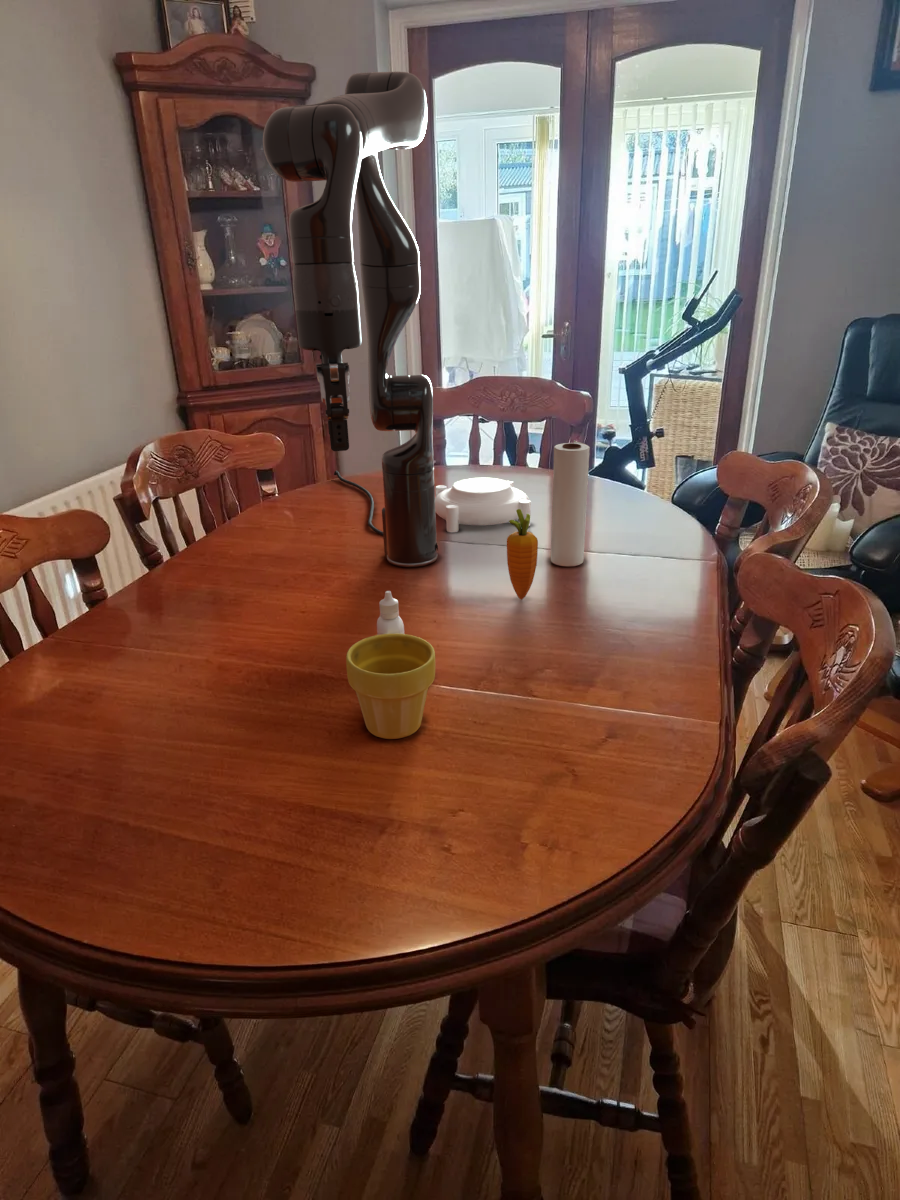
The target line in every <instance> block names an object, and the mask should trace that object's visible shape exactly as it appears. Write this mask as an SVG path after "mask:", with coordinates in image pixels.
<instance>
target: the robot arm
mask: <svg viewBox="0 0 900 1200" xmlns="http://www.w3.org/2000/svg"><path fill="white" fill-rule="evenodd" d="M427 126H428V103H427V95H426V91H425V88H424V85H423V82H422V81H421V79H420V78H419V77H417V75H416V74H413V73H411V72H407V71H373V72H371V71H370V72H369V71H367V72H355V73H353V74H351V75H350V76H349V77H348V79H347V81H346V86H345V90H344V94H341V95H337V96H333V97H331V98H328V99H327V98H326V99H325V100H323V101H321V102H317V103H313V104H302V105H301V104H300V105H291V106H284V107H280V108H278V109H276V110H274V111H273V112H272V113H271V114H270V116H269V117H268V119H267V120H266V122H265V125H264V129H263V131H262V149H263V153H264V157H265V159H266V161H267V163H268V165H269V166H270V168H271V169H272V171H273V172H274V173H275V174H276V175H277V176H278V177H280V178H281V179H283V180H285V181H287V182H290V183H291V182H292V183H304V182H322V181H323V182H325V181H326V182H325V185H324V188H323V192H322V194H321V196H320V197H319V198H318V199H317V200H316V201H314V202H311V203H307V204H304V205H300V206H298V207H296V208H294V209H293V210H292V211H291V212H290V214H289V217H288V229H289V230H288V231H289V238H290V239H289V240H290V248H291V249H290V251H291V261H292V291H293V301H294V311H295V320H296V321H295V322H296V330H297V340H298V341H297V342H298V346H299V348H300V349H301V350H304V351H312V352H315V351H318V352H320V354H319V360H321V363H315V370H316V377H317V378H316V380H317V382H318V383H319V390H320V391H319V392H320V399H321V403H322V404H324V405H325V407H326V409H325V417H326V418H327V427H328V434H329V443H330V449H331V450H332V451H333V452H345V451H349V449H350V439H349V425H348V419H349V416H350V409H349V407H348V406H349V405H348V403H349V402H350V401H351V392H350V380H351V371H350V365H349V362H347V361H346V362H343V356H342V353H343V351H344V350H353V349H356V348H359V347H361V345H362V343H363V342H362V341H363V339H362V325H361V311H360V310H361V309H360V298H359V297H360V296H359V286H358V285H359V284H358V279H357V274H356V267H355V263H354V262H355V259H354V258H355V257H354V245H353V244H354V243H353V226H352V225H353V213H354V204H355V200H356V210H357V224H358V241H359V242H358V243H359V263H360V264H359V266H360V275H361V289H362V295H363V305H364V314H365V324H366V335H367V336H366V337H367V361H368V362H367V363H368V364H367V366H368V367H367V368H368V399H369V401H368V402H369V413H370V414H369V415H370V419H371V422H372V425H373V428H375V430H377V431H379V432H405V431H406V432H408V431H409V432H410V431H413V432H414V435H413V436H411V438H410V439H409V440H408V441H405V442H404V443H402V444H400V445H398V446H395V447H392V448H390V449H388V450H386V451H385V452H384V453H383V454H382V456H381V469H382V486H383V500H384V501H383V502H384V507H383V508H381V517H382V518H381V520H382V521H381V522H382V531H381V530H380V529H378V528H376V527H375V526H374V525H373V523H372V521H373V518H374V509H375V503H374V498H373V495H372V494H371V493H370V491H368V490H367V489H366V488H365V487H363V486H362V485H360V484H358V483H356V482H353V481H351V480H348V479H346V478H343V477H342V476H341V473H340V472H339V471H338V470H335V471H334V473H333V476H337V478H338V479H339V480H340V481H341V482H343V483H344V484H347V485H351V486H353V487H356V488H357V489H359V490H361V491H362V492H364V493H365V494H366V495H367V497H368V498H369V502H370V508H369V516H368V519H367V525H368V527H369V528H370V529H371V530H372V531H373V532H374V533H377V535H380V536H382V537H383V551H384V553H383V554H384V558H386V559H387V562H388V563H389V564H391V565H393V566H397V567H400V568H401V567H403V568H418V567H419V568H420V567H424V566H427V565H430V564H433V563H435V562H436V561H437V560H438V552H439V544H438V542H437V518H436V517H437V516H436V515H437V513H436V512H435V498H436V490H435V487H436V486H435V461H434V459H435V458H434V443H433V437H434V436H433V431H434V430H433V428H434V390H433V384H432V382H431V379H430V378H429V377H428V376H427V375H424V374H409V375H408V374H404V375H403V374H402V375H388V373H387V370H388V367H389V366H388V365H389V361H390V359H391V355H392V353H393V350H394V348H395V345H396V343H397V341H398V338H399V337H400V335H401V333H402V331H403V329H404V328H405V326H406V325H407V322H408V321H409V319H410V318H411V316H412V314H413V312H414V310H415V308H416V306H417V304H418V302H419V299H420V295H421V289H422V287H421V266H420V265H421V264H420V263H421V261H420V251H419V250H420V249H419V246H418V244H417V241H416V239H415V236H414V234H413V232H412V231H411V229H410V228H409V225H408V224H407V222H406V220H405V219H404V218H403V216H402V214H401V213H400V211H399V209H398V208H397V206H396V205H395V203H394V201H393V199H392V197H391V196H390V194H389V192H388V189H387V187H386V185H385V182H384V179H383V176H382V173H381V169H380V164H379V158H378V153H379V152H381V151H386V150H387V151H389V150H390V151H391V150H392V151H395V150H398V151H399V150H407V149H412V148H415V147H417V146H418V145H419V144H420V143H421V142H422V141H423V139H424V137H425V134H426V130H427ZM355 198H356V199H355Z"/></svg>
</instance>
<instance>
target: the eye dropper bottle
mask: <svg viewBox="0 0 900 1200" xmlns="http://www.w3.org/2000/svg"><path fill="white" fill-rule="evenodd" d="M378 604H379V616H378V618H377V619H376V635H380V634H405V625H404V624H405V623H404V621H403V619H402V618H401V616H400V609H399V607H400V606H399V600H398V599H396V598H394V597H393V595H392V591H391V590H386V591H385V592H384V598H383V599H381V600H380V601H379V603H378Z"/></svg>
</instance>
